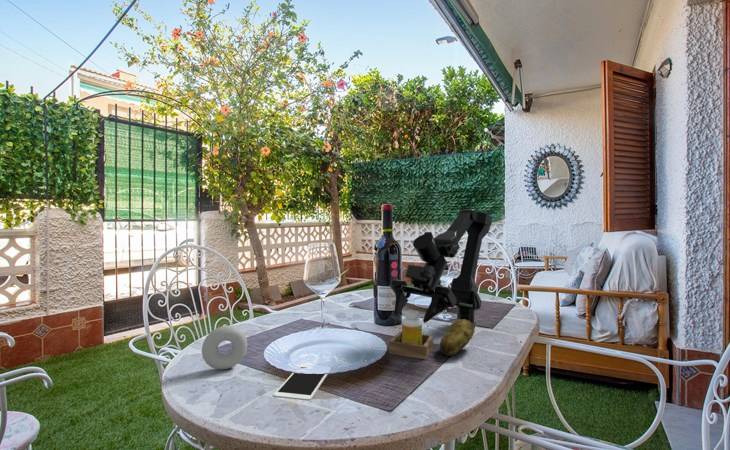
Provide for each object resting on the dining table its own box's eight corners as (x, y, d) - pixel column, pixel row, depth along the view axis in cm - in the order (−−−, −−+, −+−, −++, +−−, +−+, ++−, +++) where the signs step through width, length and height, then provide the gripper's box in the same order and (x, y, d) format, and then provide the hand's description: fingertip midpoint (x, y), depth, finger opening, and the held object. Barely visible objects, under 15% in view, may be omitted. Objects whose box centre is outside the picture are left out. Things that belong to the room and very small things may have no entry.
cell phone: (332, 368, 87) (332, 366, 87) (310, 402, 71) (310, 399, 71) (301, 366, 89) (301, 363, 89) (272, 398, 73) (272, 395, 73)
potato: (426, 350, 99) (427, 320, 99) (461, 342, 106) (461, 314, 106) (449, 361, 92) (449, 329, 92) (484, 351, 99) (485, 322, 99)
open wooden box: (399, 342, 105) (399, 331, 105) (433, 346, 102) (433, 335, 102) (388, 353, 96) (389, 341, 96) (426, 359, 93) (426, 347, 93)
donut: (202, 375, 81) (202, 330, 81) (200, 370, 84) (201, 326, 84) (248, 367, 86) (249, 325, 86) (246, 362, 89) (246, 321, 89)
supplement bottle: (421, 352, 96) (422, 315, 96) (400, 350, 97) (401, 313, 97) (422, 345, 101) (422, 309, 101) (402, 343, 102) (403, 308, 102)
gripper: (393, 251, 108) (368, 295, 100) (452, 256, 95) (428, 306, 87) (408, 275, 114) (386, 318, 106) (465, 283, 101) (444, 332, 93)
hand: (409, 318), depth 98 cm, fingers open, 9 cm apart
